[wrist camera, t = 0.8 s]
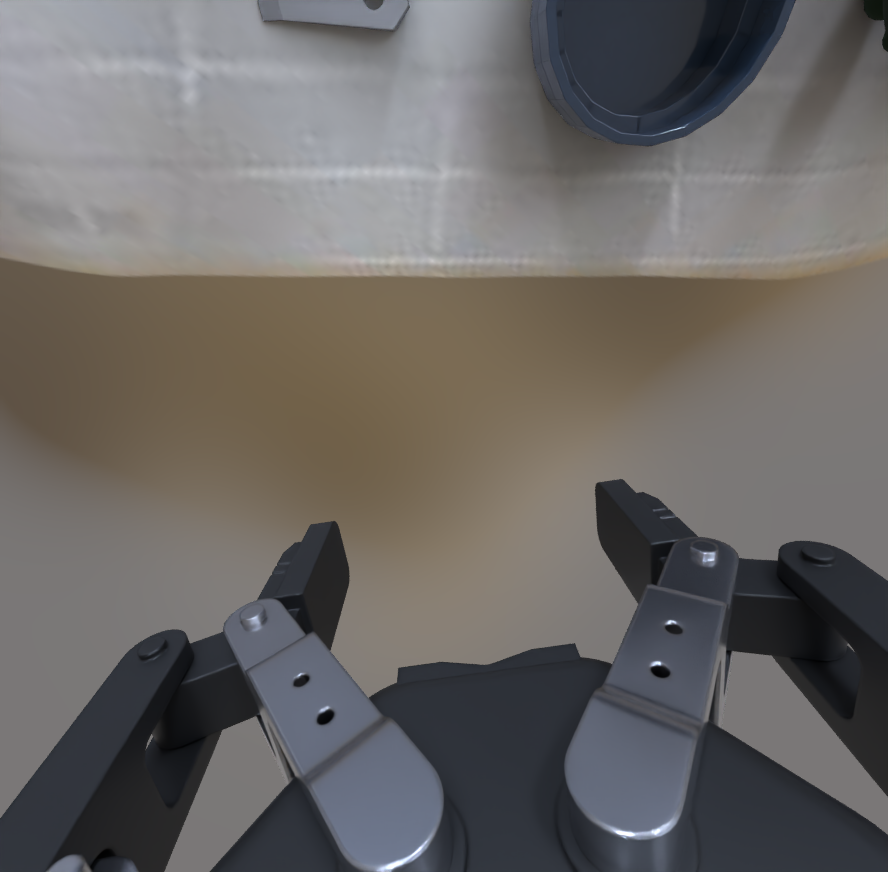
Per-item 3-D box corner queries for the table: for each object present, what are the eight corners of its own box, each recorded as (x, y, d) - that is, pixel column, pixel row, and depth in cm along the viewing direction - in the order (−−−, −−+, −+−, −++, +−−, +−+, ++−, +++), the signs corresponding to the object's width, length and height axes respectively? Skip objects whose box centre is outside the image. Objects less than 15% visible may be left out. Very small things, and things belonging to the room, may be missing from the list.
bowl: (491, -40, 29) (503, -66, 24) (724, -236, 24) (791, -311, 20) (576, 180, 36) (598, 191, 31) (767, 57, 32) (823, 50, 27)
